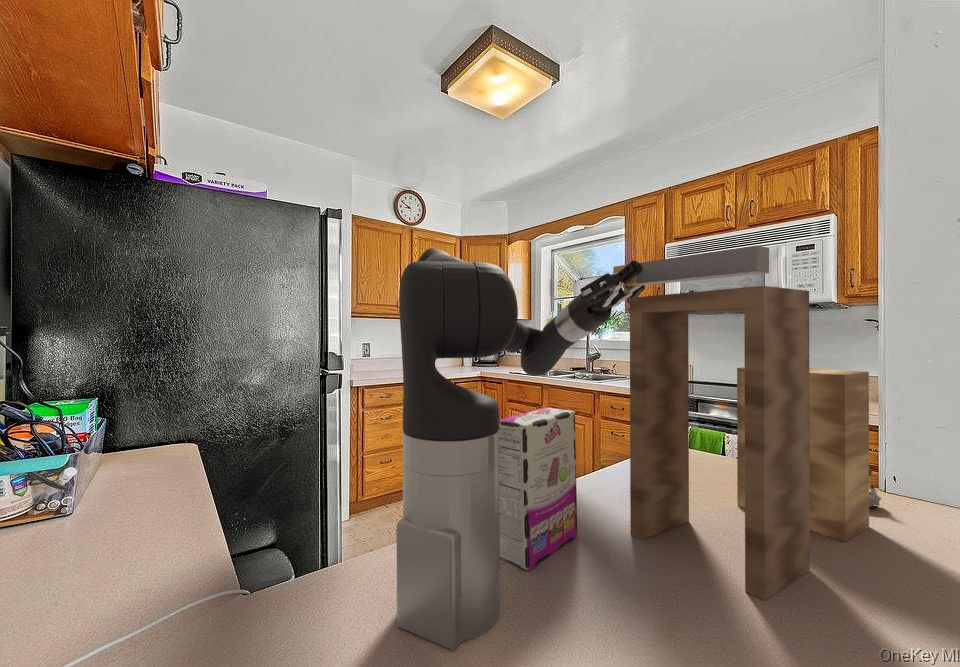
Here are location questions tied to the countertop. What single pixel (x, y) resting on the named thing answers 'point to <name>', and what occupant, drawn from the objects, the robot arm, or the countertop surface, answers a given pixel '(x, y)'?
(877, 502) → the figurine
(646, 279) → the grey and wood bar
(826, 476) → the oak block
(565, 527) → the candy bar box
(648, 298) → the walnut bridge
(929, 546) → the countertop surface
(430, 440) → the robot arm
